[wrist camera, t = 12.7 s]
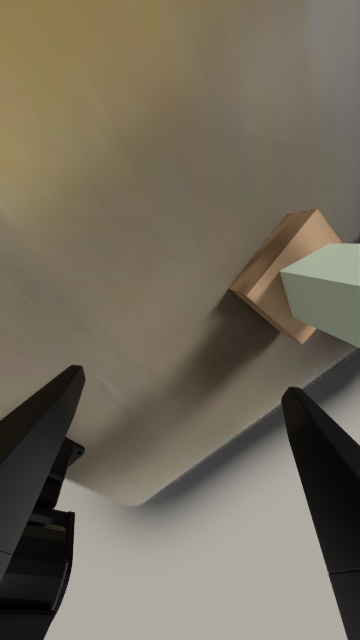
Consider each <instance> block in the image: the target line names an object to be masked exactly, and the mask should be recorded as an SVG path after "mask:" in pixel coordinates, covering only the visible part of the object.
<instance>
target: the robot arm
mask: <svg viewBox="0 0 360 640" xmlns="http://www.w3.org/2000/svg"><path fill="white" fill-rule="evenodd" d="M84 384H85V374H84V370H83V367H82V366H80V365H71V366H69V367H68V368H67V369H66V370H64V371H63V372H62V373H60V374H59V375H58V376H57V377H55V378H54V379H53V380H51V381H50V382H49V383H48V384H46V385H45V386H44V387H43V388H41V389H40V390H39V391H37V392H36V393H35V394H34V395H32V396H31V397H30V398H29V399H27V400H26V401H25V402H23V403H22V404H21V405H20V406H18V407H17V408H16V409H14V410H13V411H12V412H11V413H9V414H8V415H7V416H6V417H4V418H3V419H2V420H0V640H43V639H44V637H45V635H46V633H47V630H48V628H49V626H50V624H51V622H52V620H53V619H54V617H55V615H56V613H57V611H58V609H59V607H60V605H61V602H62V600H63V597H64V594H65V591H66V588H67V585H68V581H69V577H70V573H71V567H72V560H73V542H74V522H75V513H74V512H64V511H59V510H54V508H55V506H56V504H57V501H58V497H59V494H60V490H61V487H62V483H63V481H64V479H65V475H66V472H67V468H68V467H69V466H70V465H71V464H73V463H74V462H75V461H76V460H77V459H78V458H80V457H81V456H82V455H83V454H84V451H85V448H84V447H82V446H81V445H79V444H77V443H75V442H73V441H72V440H70V439H68V438H66V437H65V436H66V434H67V431H68V429H69V427H70V425H71V422H72V420H73V418H74V415H75V412H76V409H77V406H78V402H79V399H80V396H81V393H82V390H83V387H84ZM281 403H282V408H283V413H284V419H285V423H286V429H287V434H288V438H289V442H290V445H291V449H292V452H293V455H294V459H295V462H296V466H297V469H298V472H299V476H300V479H301V482H302V486H303V489H304V492H305V496H306V499H307V502H308V506H309V509H310V513H311V516H312V520H313V523H314V526H315V530H316V533H317V537H318V540H319V543H320V547H321V550H322V553H323V557H324V560H325V564H326V567H327V570H328V573H329V577H330V581H331V584H332V588H333V591H334V595H335V598H336V601H337V605H338V608H339V611H340V615H341V618H342V622H343V625H344V628H345V631H346V635H347V638H348V640H360V445H358V444H357V443H356V442H355V441H354V440H353V439H352V438H351V437H350V436H349V435H348V434H347V433H346V432H345V431H344V430H343V429H342V428H341V427H340V426H339V425H338V424H337V423H336V422H335V421H334V420H333V419H332V418H331V417H330V416H329V415H328V414H326V412H324V411H323V410H322V409H321V408H320V407H319V406H318V405H317V404H316V403H315V402H314V401H313V400H312V399H311V398H310V397H309V396H308V395H307V394H306V393H305V392H304V391H303V390H302V389H300V388H298V387H289V388H288V389H287V390H286V392H285V393H284V395H283V396H282V399H281Z"/></svg>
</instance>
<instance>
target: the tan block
mask: <svg viewBox="0 0 360 640" xmlns="http://www.w3.org/2000/svg"><path fill="white" fill-rule="evenodd" d="M327 244H343V243H342V242H341V241H340V239H339V238H338V237H337V235H336V234H335V232H334V231H333V230H332V228H331V227H330V226H329V224H328V223H327V221H326V220H325V219H324V217H323V216H322V215H321V213H320V212H319V210H318V209H312V210H307V211H302V212H297V213H292V214H287V215H286V216H285V218H284V219H283V220H282V221H281V223H280V224H279V225H278V226H277V228H276V229H275V230H274V232H273V233H272V234H271V235H270V237H269V238H268V239H267V240H266V242H265V243H264V244H263V245H262V247H261V248H260V249H259V251H258V252H257V253H256V254H255V256H254V257H253V258H252V259H251V261H250V262H249V263H248V264H247V266H246V267H245V268H244V270H243V271H242V272H241V273H240V275H239V276H238V277H237V278H236V280H235V281H234V282H233V283H232V285H231V286H230V287H229V289H230V290H232V291H233V292H234V293H235V294H236V295H238V296H239V297H240V298H241V299H242V300H243V301H245V302H246V303H247V304H248V305H249V306H250V307H252V308H253V309H254V310H255V311H256V312H257V313H259V314H260V315H261V316H262V317H263V318H265V319H266V320H267V321H268V322H269V323H270V324H272V325H273V326H274V327H275V328H276V329H277V330H279V331H280V332H281V333H283V334H285V335H287V336H288V337H290V338H292V339H293V340H295V341H297V342H299V343H300V344H303V343H304V342H305V341H306V340H307V339H308V338H309V337H310V336H311V334H312V333H313V332H314V331H315V330H316V329H317V328H315V327H313V326H311V325H309V324H306V323H304V322H302V321H300V320H298V319H296V318H294V317H293V316H292V313H291V309H290V306H289V302H288V299H287V295H286V292H285V289H284V285H283V282H282V278H281V275H280V271H281V270H282V269H284V268H286V267H288V266H290V265H291V264H293V263H295V262H297V261H299V260H300V259H302V258H304V257H306V256H308V255H309V254H311V253H313V252H315V251H317V250H318V249H320V248H322V247H324V246H326V245H327Z"/></svg>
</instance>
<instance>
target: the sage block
mask: <svg viewBox="0 0 360 640" xmlns="http://www.w3.org/2000/svg"><path fill="white" fill-rule="evenodd" d="M280 275H281V278H282V282H283V285H284V289H285V292H286V295H287V299H288V302H289V306H290V309H291V313H292V316H293V317H294V318H296V319H298V320H300V321H302V322H304V323H306V324H309V325H311V326H313V327H315V328H317V329H319V330H322V331H324V332H326V333H328V334H330V335H332V336H334V337H337V338H339V339H341V340H343V341H345V342H347V343H350V344H352V345H354V346H356V347H358V348H360V244H327V245H326V246H324V247H322V248H320V249H318V250H317V251H315V252H313V253H311V254H309V255H308V256H306V257H304V258H302V259H300V260H299V261H297V262H295V263H293V264H291V265H290V266H288V267H286V268H284V269H282V270H281V271H280Z"/></svg>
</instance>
